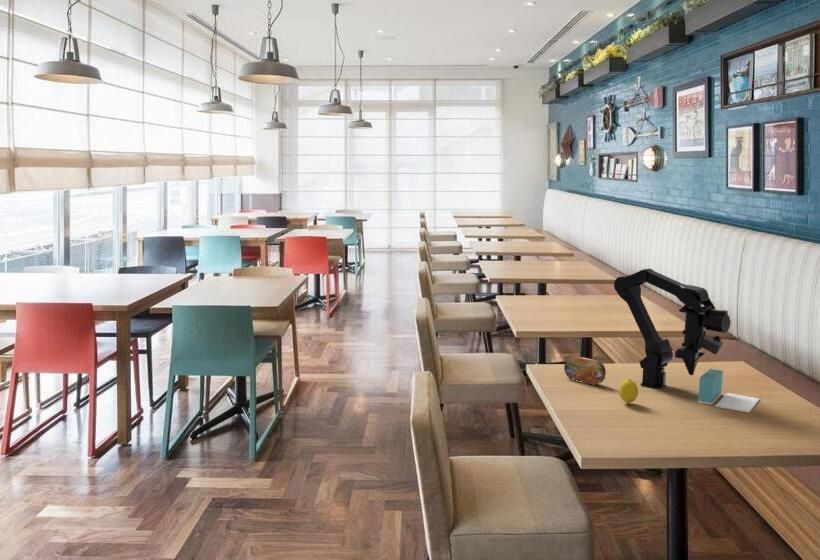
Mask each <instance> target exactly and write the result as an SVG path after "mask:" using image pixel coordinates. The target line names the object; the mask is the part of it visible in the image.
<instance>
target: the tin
mask: <svg viewBox="0 0 820 560" xmlns="http://www.w3.org/2000/svg"><path fill="white" fill-rule="evenodd" d="M563 368H564V369H563V370H564V373H565V375H566V377H568V379H569V380H571V379H574V380H578V381H582V382H586V383H589V384H588V385H590V384H592V385H591V386H597V385H599V384H601V383H602V382H604V380H605V379H606V375H607V370H606V367H605V365H604V364H603V363H602V362H601V361H599V360H598V359H597V360H596V359H592V358H587V357H583V356H578V355H577V356H571V357H568V359H566V360H565V363H564V366H563ZM586 383H585V384H586Z"/></svg>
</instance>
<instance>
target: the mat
mask: <svg viewBox="0 0 820 560" xmlns="http://www.w3.org/2000/svg"><path fill="white" fill-rule="evenodd" d="M759 401H760V398H757V397H752V396H745V395H740V394H736V393H729V392H727V393H726V394H725V395H724V396H723V397H722V398H721V399H720V400H719V401H718V402H717V404H715V408H721V409H727V410H732V411H738V412H743V413H748V414H749V413H750V412H751V411H752V410H753V409H754V408H755V406H756V405H757V403H758V402H759Z"/></svg>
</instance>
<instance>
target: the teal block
mask: <svg viewBox="0 0 820 560" xmlns="http://www.w3.org/2000/svg"><path fill="white" fill-rule="evenodd" d="M723 373H724V370H719V369H713V368H709V369H708V370H707V371H705V373H703V374H702V375H701V376H700V377H699V384H698V385H699V387H698V399H697V400H698V402H697V403H701V404H707V405H713V404H714V403H715V402H716V401H717V400H718V398H720V396H721V395H722V389H723V377H724V376H723V375H724V374H723Z"/></svg>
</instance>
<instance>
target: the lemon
mask: <svg viewBox="0 0 820 560" xmlns="http://www.w3.org/2000/svg"><path fill="white" fill-rule="evenodd" d="M638 393H639V389H638V385H637V384H636V382H635V381H633V380H631V378H628V379H626V380H624V381H622V382H621V383H620V385H619V390H618V394H619V397H620V399H621V400H622V401H623V402H625V403H626V404H627V405H629V404H631V403H633V402H634V401H636V399H637V398H638V395H639V394H638Z"/></svg>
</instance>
